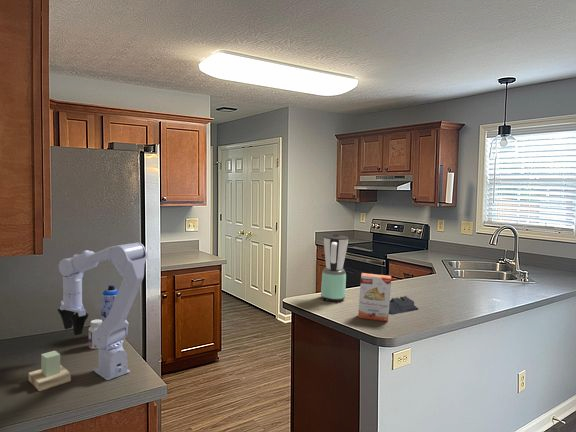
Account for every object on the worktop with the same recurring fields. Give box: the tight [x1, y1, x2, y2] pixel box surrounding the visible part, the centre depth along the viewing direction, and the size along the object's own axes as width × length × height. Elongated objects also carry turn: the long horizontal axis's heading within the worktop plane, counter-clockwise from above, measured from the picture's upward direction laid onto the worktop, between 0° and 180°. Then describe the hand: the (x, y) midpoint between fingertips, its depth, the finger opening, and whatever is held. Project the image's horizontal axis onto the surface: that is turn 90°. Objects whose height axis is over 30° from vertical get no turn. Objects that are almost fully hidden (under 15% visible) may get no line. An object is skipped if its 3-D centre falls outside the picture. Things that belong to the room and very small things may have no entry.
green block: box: [40, 350, 61, 377], centre depth 133 cm, size 4×4×6 cm
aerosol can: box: [100, 285, 119, 322], centre depth 170 cm, size 8×8×20 cm
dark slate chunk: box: [389, 295, 419, 315], centre depth 222 cm, size 15×22×5 cm
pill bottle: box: [88, 318, 102, 350], centre depth 159 cm, size 5×5×10 cm
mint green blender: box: [320, 234, 350, 303], centre depth 229 cm, size 19×13×35 cm
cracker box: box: [357, 272, 392, 322], centre depth 203 cm, size 14×6×21 cm, turn 76°
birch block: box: [28, 364, 72, 392], centre depth 133 cm, size 9×9×3 cm
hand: (73, 331), depth 147 cm, fingers open, 7 cm apart
